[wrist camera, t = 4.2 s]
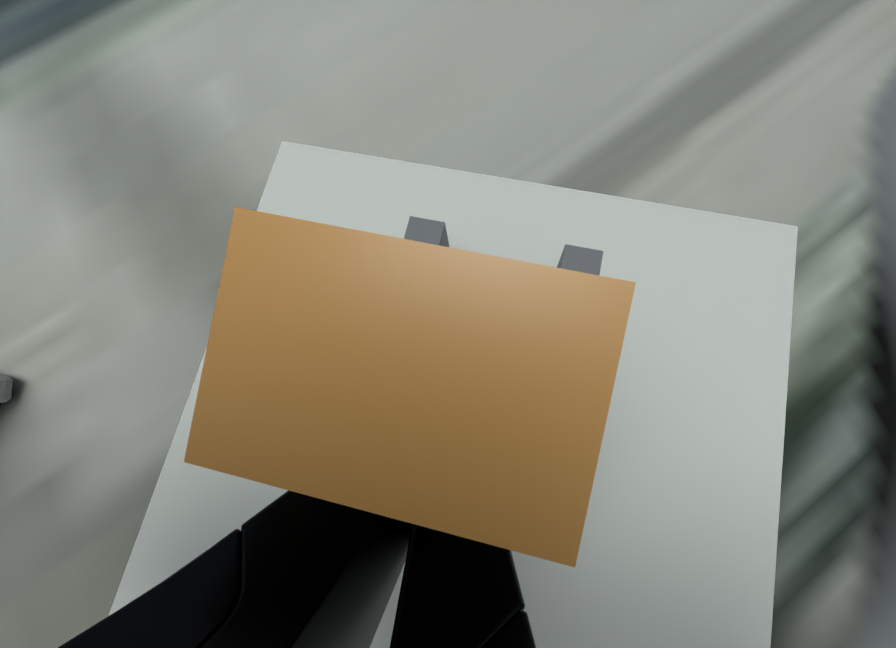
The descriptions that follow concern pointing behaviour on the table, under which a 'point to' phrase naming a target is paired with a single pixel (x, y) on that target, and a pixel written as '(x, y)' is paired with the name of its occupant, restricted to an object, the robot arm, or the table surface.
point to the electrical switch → (5, 388)
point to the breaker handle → (411, 380)
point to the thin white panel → (630, 412)
